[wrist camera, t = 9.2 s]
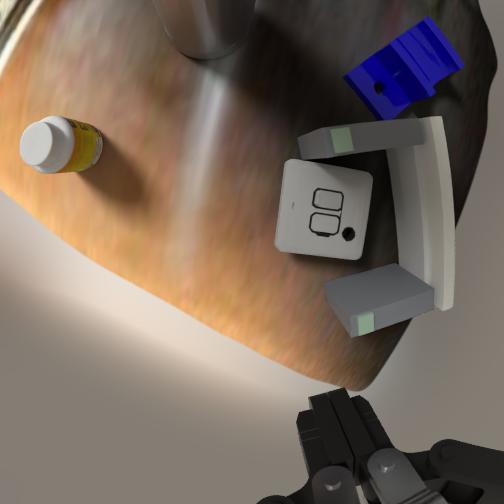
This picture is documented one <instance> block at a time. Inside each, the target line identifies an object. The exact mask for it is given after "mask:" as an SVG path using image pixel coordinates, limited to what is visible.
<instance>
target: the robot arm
mask: <svg viewBox="0 0 504 504" xmlns="http://www.w3.org/2000/svg"><path fill="white" fill-rule="evenodd" d="M152 2H153V4H154V7H155V9H156V11H157V13H158V15H159V17H160V19H161V21H162V23H163V26H164V28H165V30H166V32H167V34H168V36H169V38H170V40H171V42H172V44H173V45H174V47H175V48H176V49H177V50H178V51H180V52H181V53H183V54H185V55H187V56H189V57H192V58H197V59H215V58H219V57H223V56H226V55H228V54H230V53H232V52H234V51H235V50H236V49H238V48H239V47H240V46H241V45H242V44H243V43H244V42H245V40H246V39H247V37H248V35H249V32H250V28H251V22H252V17H253V12H254V7H255V2H256V0H152ZM308 399H309V406H310V410H306V411H302V412H299V414H298V418H297V421H296V424H297V429H298V434H299V440H300V445H301V449H302V453H303V456H304V460H305V464H306V468H307V472H308V475H309V479H308V481H307V483H306V484H305V485H304V486H303V487H302V488H301V489H300V490H298V491H297V492H294V493H293V494H291V495H289V496H287V497H285V496H280V495H273V496H268V497H266V498H263V499H262V500H260V501H259V502H258V503H257V504H360V500H359V497H358V493H357V489H356V486H358V485H361V488H362V490H363V500H364V502H365V504H504V451H499V450H494V449H489V448H485V447H480V446H476V445H472V444H468V443H464V442H460V441H457V440H452V439H446V440H441V441H439V442H437V443H436V444H434V445H433V446H432V448H431V449H430V450H428V451H422V452H416V453H406V452H402V451H400V450H398V449H396V448H395V447H394V446H393V444H392V443H391V441H390V439H389V437H388V436H387V434H386V432H385V430H384V428H383V427H382V425H381V423H380V421H379V419H378V418H377V416H376V414H375V412H374V411H373V409H372V407H371V405H370V403H369V402H368V401H367V400H366V399H364V398H363V397H361V396H360V395H358V396H355V397H352V398H350V397H349V395H348V393H347V391H346V389H345V388H344V387H343V388H340V389H336V390H333V391H329V392H327V393H322V394H319V395H315V396H311V397H308Z"/></svg>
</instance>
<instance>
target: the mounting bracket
mask: <svg viewBox="0 0 504 504" xmlns="http://www.w3.org/2000/svg"><path fill="white" fill-rule="evenodd" d="M463 67H464V64H463V63H462V61H461V60H460V57H459V55H458V54H457V52H456V51H455V49H454V48H453V47H452V45H451V44H450V42H449V41H448V40H447V38H446V37H445V36H444V35H443V33H442V32H441V31H440V29H439V28H438V27H437V26H436V24H435V23H434V22H433V21H432V19H431V18H430V17H429V16H428V17H427V18H425V19H423V20H422V21H420V22H419V23H417V24H416V25H414V26H413V27H411V28H410V29H408V30H407V31H405V32H404V33H403V34H401V35H400V36H398V37H397V38H395V39H394V40H393V41H391V42H390V43H388V44H387V45H385V46H384V47H383V48H381V49H380V50H379V51H377V52H376V53H374V54H373V55H372V56H370V57H369V58H368V59H366V60H365V61H364V62H362V63H361V64H360V65H358V66H357V67H356V68H354V69H353V70H352V71H350V72H349V73H348V74H347V75H345V76H344V77H343V79H344V80H345V81H346V82H347V83H348V84H349V85H350V87H351V88H352V89H353V90H354V91H355V92H356V94H357V95H358V96H359V97H360V98H361V100H362V101H363V102H364V103H365V105H366V106H367V107H368V108H369V110H370V111H371V112H372V113H373V115H374V116H375V117H376V118H377V120H378V121H385V120H392V119H393V118H394V117H396V116H397V115H398V114H399V113H400V112H401V111H402V110H403V109H404V108H406V107H407V106H408V105H409V104H410V103H411V102H415V101H418V100H422V99H426V98H430V97H432V96H433V95H434V94H435V93H436V91H435V90H434V88H433V86H434V85H435V84H436V83H437V82H438V81H440V80H441V79H442V78H444V77H446V76H447V75H449V74H451V73H453V72H455V71H458V70H460V69H461V68H463ZM374 84H377V85H379V86H380V87H381V89H382V95H379V94H377V93H376V91H375V90H374Z"/></svg>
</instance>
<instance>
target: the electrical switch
mask: <svg viewBox="0 0 504 504" xmlns="http://www.w3.org/2000/svg"><path fill="white" fill-rule="evenodd" d="M372 184H373V177H372V176H371V175H370V173H368V172H364V171H360V170H355V169H350V168H344V167H339V166H333V165H328V164H322V163H316V162H310V161H303V160H297V159H290V160H288V161H286V162H285V165H284V173H283V181H282V189H281V197H280V205H279V212H278V220H277V228H276V235H275V247H276V248H277V249H278V250H279V251H281V252H289V253H298V254H307V255H315V256H324V257H333V258H341V259H350V260H357V259H359V258H360V257H361V255H362V251H363V245H364V239H365V233H366V227H367V220H368V214H369V207H370V200H371V192H372ZM346 229H347V234H346V236H344V235H343V234H344V231H345V230H346Z"/></svg>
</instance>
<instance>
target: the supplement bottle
mask: <svg viewBox="0 0 504 504" xmlns="http://www.w3.org/2000/svg"><path fill="white" fill-rule="evenodd" d="M102 147H103V142H102V137H101V134H100V132H99V131H98V130H97V129H96V128H95V127H94V126H92V125H90V124H87V123H83V122H79V121H76V120H72V119H68V118H64V117H60V116H49V117H46V118H44V119H42V120H41V121H39V122H35V123H32V124H31V125H29V126H28V127H27V128H26V130H25V131H24V133H23V135H22V137H21V141H20V154H21V157H22V159H23V161H24V162H25V163H26V164H28V165H30V166H32V167H33V168H34V169H35V170H36V171H38V172H40V173H43V174H54V173H66V172H79V171H85V170H87V169H89V168H91V167H92V166H93V165H94V164H95V163H96V162H97V161H98V159H99V157H100V155H101V152H102Z"/></svg>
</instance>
